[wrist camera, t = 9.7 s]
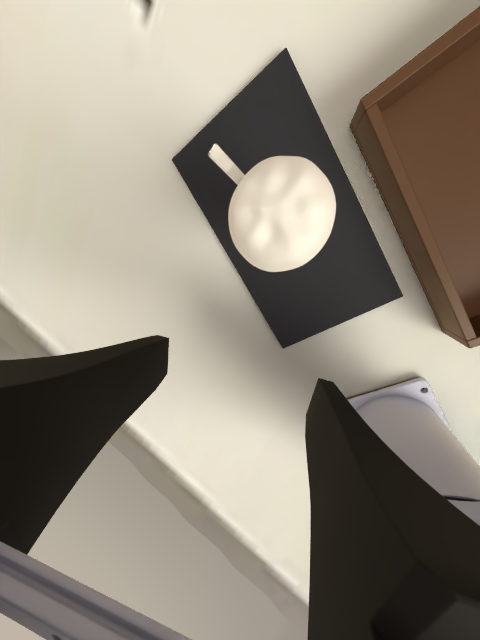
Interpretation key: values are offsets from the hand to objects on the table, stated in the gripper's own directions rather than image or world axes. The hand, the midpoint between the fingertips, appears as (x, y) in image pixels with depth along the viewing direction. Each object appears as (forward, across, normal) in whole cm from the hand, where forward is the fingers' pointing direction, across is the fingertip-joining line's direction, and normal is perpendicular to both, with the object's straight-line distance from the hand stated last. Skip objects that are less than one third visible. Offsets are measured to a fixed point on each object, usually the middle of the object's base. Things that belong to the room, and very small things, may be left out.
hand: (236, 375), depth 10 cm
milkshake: (+10, 0, -7) cm, 12 cm away
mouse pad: (+10, 0, -7) cm, 13 cm away
